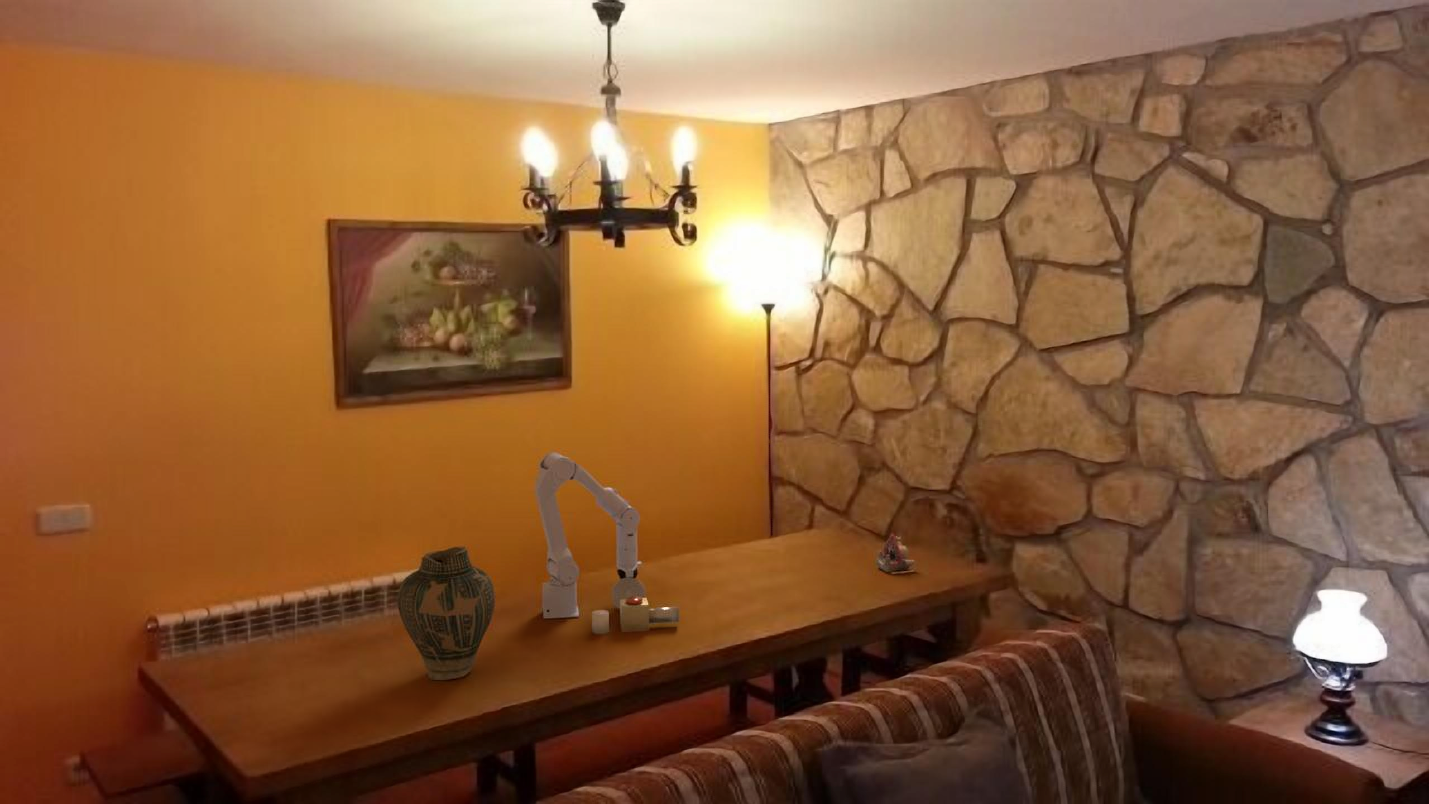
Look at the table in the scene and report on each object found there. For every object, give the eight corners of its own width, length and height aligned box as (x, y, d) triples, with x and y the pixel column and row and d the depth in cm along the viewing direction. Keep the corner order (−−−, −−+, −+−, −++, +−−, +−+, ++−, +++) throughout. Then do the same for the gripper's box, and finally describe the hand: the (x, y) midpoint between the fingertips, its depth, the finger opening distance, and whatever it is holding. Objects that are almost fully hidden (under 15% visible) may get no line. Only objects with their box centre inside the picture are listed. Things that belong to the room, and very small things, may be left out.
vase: (516, 672, 271) (513, 548, 266) (437, 699, 254) (432, 568, 250) (460, 650, 285) (456, 532, 281) (381, 675, 269) (376, 550, 265)
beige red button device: (622, 632, 298) (621, 603, 297) (618, 618, 309) (618, 590, 308) (679, 629, 300) (679, 600, 299) (674, 615, 311) (673, 587, 310)
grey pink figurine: (864, 558, 358) (885, 526, 359) (888, 576, 362) (909, 545, 363) (881, 568, 348) (903, 535, 349) (906, 586, 352) (928, 554, 353)
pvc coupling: (592, 634, 297) (592, 615, 296) (591, 629, 301) (591, 610, 300) (609, 633, 297) (609, 614, 297) (608, 628, 302) (608, 609, 301)
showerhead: (609, 609, 312) (613, 574, 317) (609, 617, 319) (613, 583, 323) (643, 612, 312) (647, 577, 317) (643, 620, 319) (647, 586, 324)
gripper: (644, 553, 313) (644, 601, 315) (638, 540, 328) (639, 586, 329) (618, 555, 312) (619, 603, 314) (613, 541, 326) (614, 587, 328)
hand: (627, 594), depth 322 cm, fingers closed
